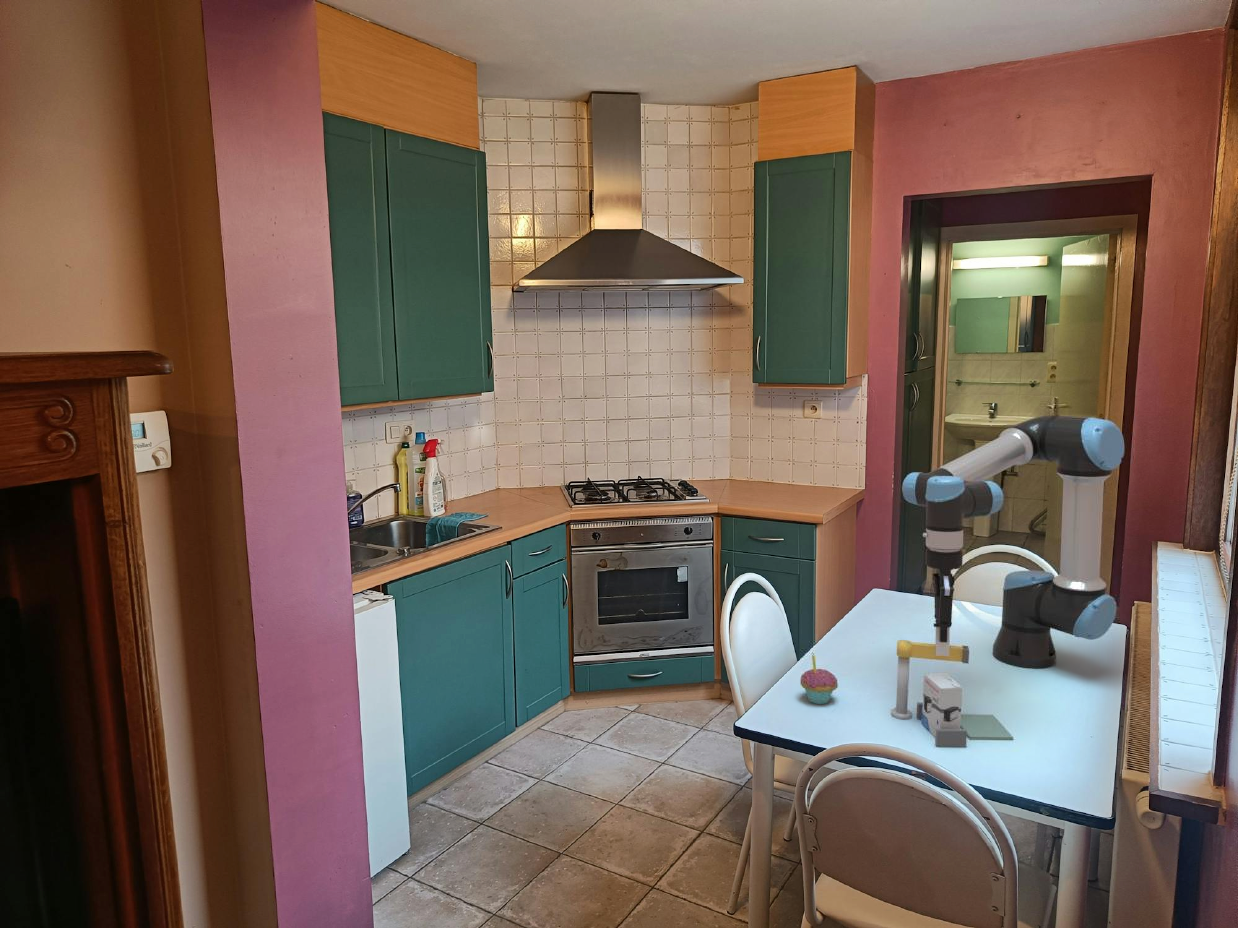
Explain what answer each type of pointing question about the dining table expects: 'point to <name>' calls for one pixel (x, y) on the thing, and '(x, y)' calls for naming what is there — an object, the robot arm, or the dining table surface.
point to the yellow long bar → (931, 651)
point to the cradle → (901, 712)
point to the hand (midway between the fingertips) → (942, 654)
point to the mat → (984, 727)
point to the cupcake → (818, 684)
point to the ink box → (941, 702)
